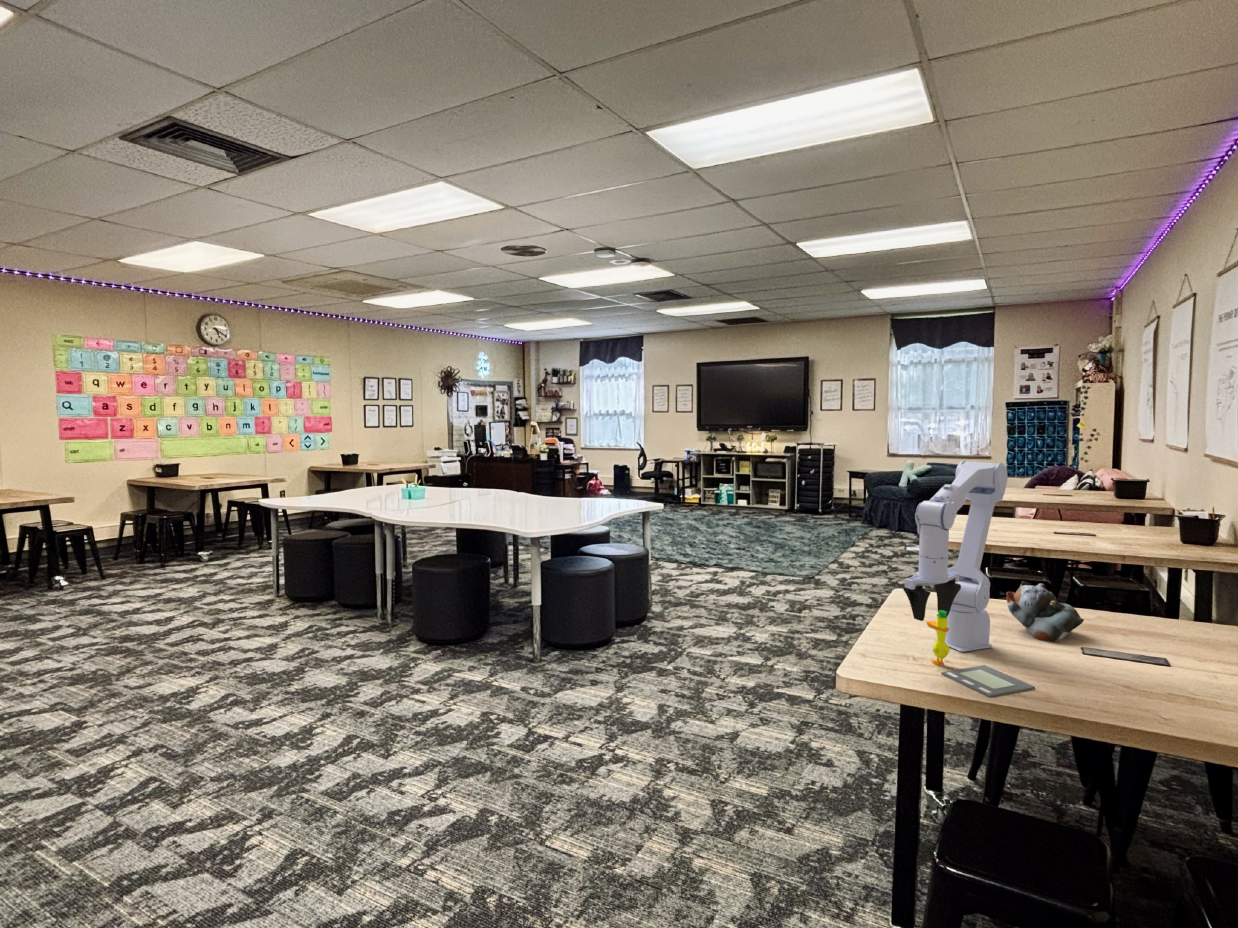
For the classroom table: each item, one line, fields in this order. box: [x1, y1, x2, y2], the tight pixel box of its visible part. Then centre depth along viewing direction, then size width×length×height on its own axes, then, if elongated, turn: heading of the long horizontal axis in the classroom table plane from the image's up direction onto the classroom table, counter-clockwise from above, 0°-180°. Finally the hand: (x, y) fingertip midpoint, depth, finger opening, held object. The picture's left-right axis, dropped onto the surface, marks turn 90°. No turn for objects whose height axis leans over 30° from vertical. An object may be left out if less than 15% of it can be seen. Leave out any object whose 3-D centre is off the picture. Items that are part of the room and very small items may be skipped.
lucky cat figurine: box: [1005, 580, 1085, 643], centre depth 167 cm, size 15×12×14 cm
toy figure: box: [925, 610, 951, 666], centre depth 147 cm, size 7×4×12 cm, turn 20°
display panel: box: [940, 664, 1036, 698], centre depth 138 cm, size 12×12×1 cm
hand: (931, 617), depth 147 cm, fingers open, 7 cm apart
